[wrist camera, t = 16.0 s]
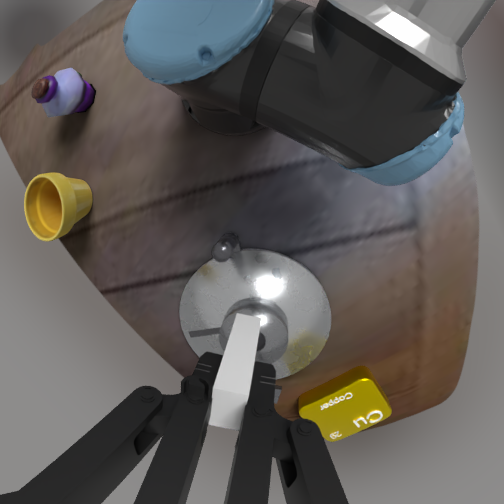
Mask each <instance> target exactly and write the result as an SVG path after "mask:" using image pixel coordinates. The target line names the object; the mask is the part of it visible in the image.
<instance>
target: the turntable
mask: <svg viewBox="0 0 504 504" xmlns="http://www.w3.org/2000/svg"><path fill="white" fill-rule="evenodd" d="M212 256H213V258H212V259H211V260H209V261H208V262H206V263H205V264H204V265H202V266H201V267H200V268H199V269H198V270H197V271H196V272H195V274H194V275H193V276H192V277H191V278H190V280H189V281H188V283H187V285H186V286H185V289H184V291H183V293H182V297H181V301H180V309H179V314H180V323H181V327H182V330H183V333H184V336H185V338H186V340H187V342H188V343H189V345H190V346H191V348H192V349H193V351H194V352H195V353H196V354H197V355H198V356H199V357H200V356H201V355H203V354H204V353H205V352H207V351H208V352H212V353H216V354H220V355H224V351H223V349H222V347H221V345H220V342H219V331H220V328H221V325H222V322H223V320H224V317H225V315H226V313H227V311H228V309H229V308H230V307H231V306H232V305H233V304H234V303H236V302H238V301H239V300H242V299H245V298H251V297H258V298H264V299H267V300H270V301H272V302H274V303H275V304H277V305H278V306H279V307H280V308H281V309H282V310H283V312H284V313H285V315H286V317H287V320H288V346H287V349H286V351H285V353H284V354H283V356H282V357H281V358H280V359H278V360H277V361H275V362H274V363H271V364H273V366H274V368H275V370H276V379H280V378H283V377H287V376H289V375H292V374H294V373H296V372H298V371H300V370H301V369H303V368H304V367H306V366H307V365H308V364H310V363H311V362H312V361H313V360H314V359H315V358H316V357H317V356H318V354H319V353H320V352H321V350H322V349H323V347H324V345H325V344H326V341H327V339H328V336H329V332H330V328H331V310H330V305H329V301H328V298H327V296H326V293H325V291H324V289H323V287H322V285H321V284H320V282H319V280H318V279H317V278H316V277H315V276H314V274H313V273H312V272H311V271H310V270H308V269H307V268H306V267H305V266H304V265H302V264H301V263H299V262H298V261H297V260H295V259H293V258H291V257H289V256H287V255H284V254H281V253H279V252H276V251H271V250H267V249H258V248H246V249H242V248H241V245H240V241H239V238H238V235H235V234H234V233H230V232H229V233H226V234H224V235H223V236H222V238H221V239H220V240H219V241H218V242H217V243H216V244H215V246H214V247H213V248H212Z"/></svg>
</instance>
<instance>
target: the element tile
mask: <svg viewBox="0 0 504 504" xmlns="http://www.w3.org/2000/svg"><path fill="white" fill-rule="evenodd" d="M298 402H299V415H300V416H301V417H302V418H303V419H309V420H312V421H313V422H315V423H316V424H317V425H318V427H319V428H320V431H321V434H322V436H323V437H324V438H325V439H326V440H328V441H331V442H334V441H337V440H340V439H343V438H345V437H347V436H349V435H352V434H354V433H357V432H359V431H361V430H363V429H366V428H368V427H370V426H372V425H374V424H376V423H378V422H380V421H382V420H384V419H386V418H387V417H389V416H390V414H391V412H392V409H391V406H390V404H389V401H388V398H387V396H386V395H385V393H384V392H383V390H382V389H381V387H380V385H379V384H378V382H377V381H376V379H375V378H374V376H373V375H372V373H371V371H370V370H369V369H368V368H367V367H365V366H358V367H355V368H353V369H351V370H349V371H347V372H345V373H343V374H342V375H340V376H338V377H336V378H334V379H332V380H330V381H328V382H326V383H324V384H322V385H320V386H318V387H316V388H313V389H311V390H309V391H307V392H305V393H303V394H301V395H300V396H299V399H298Z"/></svg>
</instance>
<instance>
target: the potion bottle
mask: <svg viewBox="0 0 504 504" xmlns="http://www.w3.org/2000/svg"><path fill="white" fill-rule="evenodd" d="M95 94H96V90H95V89H94V87H93V86H92V84H89V83H87V82H86V81H85V80H84V79H83V78H82V75H81V74H80V73H78V72H76V71H75V70H74V69H72V68H68V69H64V70H60V71H58V72H57V73H56V74H55V75H54V77H53V76H47V77H43V78H42V79H38V80H37V81H36V82H35V84H34V86H33V88H32V97H33V98H35V99H36V101H37V103H42V106H43V108H44V110H45V112H46V114H47V116H48V117H54V116H61V115H67V114H73V113H74V112H77V113H79V112H86V111H87V110H88V109H89V108H90V107H91V105H92V104H93V103H94V99H95Z"/></svg>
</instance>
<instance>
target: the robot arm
mask: <svg viewBox="0 0 504 504" xmlns="http://www.w3.org/2000/svg"><path fill="white" fill-rule="evenodd" d="M495 1H496V0H319V3H318V5H317V7H316V8H315V7H313V6H310V5H308V4H305V3H302V2H299V1H296V0H137V1H136V3H135V4H134V6H133V7H132V9H131V11H130V13H129V15H128V17H127V20H126V22H125V26H124V31H123V41H124V46H125V53H126V55H127V57H128V59H129V60H130V61H131V63H132V64H133V65H134V66H135V67H137V68H138V69H139V70H140V71H141V72H142V73H143V75H144V76H145V77H146V78H149V80H151V81H153V82H156V83H160V84H162V85H163V86H165V87H167V88H168V89H170V90H172V91H173V92H175V93H176V94H178V95H180V96H181V98H182V102H183V104H184V106H185V108H186V110H187V112H188V113H189V114H190V116H191V117H192V118H193V119H194V120H195V121H196V122H197V123H199V124H200V125H202V126H203V127H205V128H207V129H209V130H211V131H213V132H216V133H219V134H224V135H245V134H250V133H253V132H256V131H259V130H261V129H263V128H265V127H268V128H270V129H272V130H274V131H277V132H279V133H281V134H283V135H285V136H287V137H289V138H291V139H293V140H295V141H297V142H299V143H301V144H303V145H305V146H307V147H309V148H311V149H313V150H315V151H317V152H319V153H321V154H323V155H325V156H326V157H328V158H330V159H332V160H334V161H336V162H337V163H338V164H339V165H340V166H341V167H343V168H344V169H346V170H349V171H351V172H355V173H359V174H360V175H362V176H364V177H366V178H368V179H370V180H372V181H373V182H375V183H378V184H381V185H386V186H395V185H401V184H405V183H408V182H410V181H412V180H415V179H416V178H418V177H420V176H422V175H423V174H425V173H426V172H427V171H429V170H430V169H431V168H432V167H434V166H435V165H436V164H437V163H438V162H439V161H440V160H441V159H442V158H443V157H444V156H445V154H446V153H447V152H448V150H449V149H450V148H451V146H452V145H453V141H452V139H451V138H452V137H453V136H454V135H456V134H458V133H459V132H460V130H461V127H462V124H463V119H464V104H463V101H462V99H461V97H460V94H459V92H458V91H459V89H460V88H461V87H462V86H463V84H464V83H465V82H466V80H467V78H466V72H465V68H464V63H463V58H462V48H463V47H464V46H465V44H466V43H467V41H468V40H469V39H470V37H471V36H472V34H473V33H474V32H475V30H476V29H477V27H478V26H479V25H480V23H481V22H482V20H483V19H484V17H485V16H486V14H487V13H488V11H489V10H490V8H491V6H493V4H494V2H495ZM260 324H261V318H259V317H254V316H249V315H244V314H239V313H237V315H236V318H235V321H234V324H233V327H232V330H231V333H230V337H229V340H228V343H227V346H226V349H225V352H224V355H220V354H216V353H212V352H208V351H207V352H205V353H204V354H203V355H201V356H200V358H199V361H198V364H197V365H196V368H195V370H194V372H193V375H192V376H188V377H186V378H184V379H183V380H182V381H181V393H179V394H176V395H162V394H161V392H160V391H159V390H157V389H156V388H154V387H151V386H142V387H139V388H137V389H136V390H134V391H133V392H132V393H131V394H130V395H129V396H128V397H127V398H126V399H124V400H123V401H122V402H121V403H120V404H119V405H118V406H117V407H116V408H114V409H113V410H112V411H111V412H110V413H109V414H108V415H107V416H105V417H104V418H103V419H102V420H101V421H100V422H99V423H98V424H96V425H95V426H94V427H93V428H92V429H91V430H90V431H88V432H87V433H86V434H85V435H84V436H83V437H82V438H80V439H79V440H78V441H77V442H76V443H75V444H73V445H72V446H71V447H70V448H69V449H68V450H67V451H65V452H64V453H63V454H62V455H61V456H60V457H58V458H57V459H56V460H55V461H54V462H53V463H51V464H50V465H49V466H48V467H47V468H45V469H44V470H43V471H42V472H41V473H39V475H37V476H36V477H35V478H33V479H32V480H31V481H30V482H29V483H27V484H26V485H25V486H24V487H22V488H21V489H20V490H19V491H16V492H11V493H7V494H2V495H0V504H101V503H102V502H103V501H104V500H105V499H106V498H107V497H108V496H109V495H110V494H111V493H112V491H114V489H115V488H116V487H117V486H118V485H119V484H120V483H121V482H122V481H123V480H124V479H125V478H126V476H127V475H128V474H129V473H130V472H131V471H132V470H133V469H134V468H135V466H136V465H137V464H138V463H139V462H140V461H141V460H142V458H143V457H144V456H145V455H146V454H147V453H148V452H149V451H150V449H151V448H152V447H153V446H154V445H155V444H156V442H157V441H158V440H159V439H160V438H161V437H162V436H163V437H162V439H161V441H160V444H159V446H158V448H157V451H156V453H155V455H154V457H153V460H152V462H151V464H150V467H149V469H148V471H147V474H146V476H145V479H144V481H143V483H142V485H141V488H140V490H139V492H138V495H137V497H136V500H135V502H134V504H186V500H187V497H188V493H189V490H190V487H191V483H192V480H193V477H194V473H195V470H196V467H197V463H198V460H199V457H200V453H201V450H202V447H203V443H204V440H205V436H206V433H207V426H208V423H209V425H213V426H218V427H222V428H227V429H232V430H238V431H239V435H238V438H237V442H236V446H235V453H234V458H233V463H232V468H231V473H230V477H229V482H228V487H227V492H226V497H225V501H224V504H268V496H269V485H270V474H271V464H272V457H274V458H276V462H277V466H278V470H279V475H280V479H281V483H282V487H283V491H284V495H285V499H286V503H287V504H349V503H348V501H347V498H346V495H345V493H344V490H343V488H342V486H341V483H340V480H339V478H338V475H337V472H336V470H335V467H334V465H333V462H332V459H331V457H330V454H329V452H328V449H327V447H326V444H325V442H324V439H323V436H322V434H321V431H320V428H319V427H318V425H317V424H316V423H315V422H313V421H312V420H309V419H303V418H301V419H297V420H295V421H290V420H287V419H285V418H283V417H281V416H280V415H279V414H278V413H277V412H276V410H275V408H274V397H275V381H276V370H275V368H274V366H273V364H268V363H263V362H257V361H255V356H256V350H257V343H258V337H259V331H260Z"/></svg>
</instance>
